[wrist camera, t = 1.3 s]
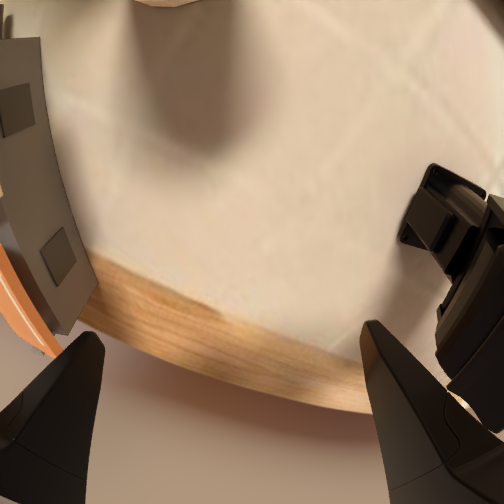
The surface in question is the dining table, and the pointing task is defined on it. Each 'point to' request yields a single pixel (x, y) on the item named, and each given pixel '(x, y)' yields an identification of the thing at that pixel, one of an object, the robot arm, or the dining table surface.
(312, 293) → the dining table surface
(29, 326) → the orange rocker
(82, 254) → the rocker switch box
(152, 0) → the white cup
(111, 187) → the dining table surface
